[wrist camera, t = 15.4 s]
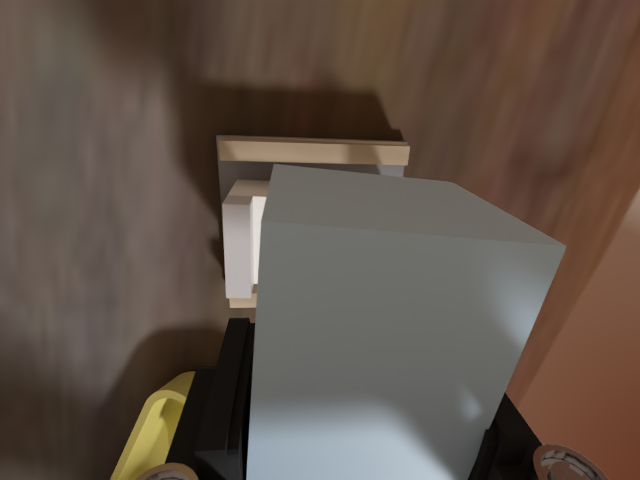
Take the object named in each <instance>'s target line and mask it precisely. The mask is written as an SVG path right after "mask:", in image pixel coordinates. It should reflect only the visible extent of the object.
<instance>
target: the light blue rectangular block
mask: <svg viewBox="0 0 640 480" xmlns="http://www.w3.org/2000/svg"><path fill="white" fill-rule="evenodd" d="M566 247H567V246H565V245H564V244H562V243H560V242H558V241H556V240H555V239H553V238H551V237H549V236H547V235H546V234H544V233H542V232H540V231H538V230H537V229H535V228H533V227H531V226H529V225H528V224H526V223H524V222H522V221H520V220H519V219H517V218H515V217H513V216H512V215H510V214H508V213H506V212H504V211H503V210H501V209H499V208H497V207H495V206H494V205H492V204H490V203H488V202H486V201H485V200H483V199H481V198H479V197H477V196H476V195H474V194H472V193H470V192H468V191H467V190H465V189H463V188H461V187H460V186H458V185H456V184H454V183H452V182H445V181H435V180H425V179H416V178H406V177H396V176H387V175H377V174H367V173H358V172H348V171H339V170H329V169H319V168H310V167H300V166H290V165H281V164H274V165H273V170H272V174H271V179H270V183H269V188H268V192H267V197H266V201H265V206H264V210H263V215H262V219H261V233H260V250H259V268H258V285H257V302H256V320H255V337H254V354H253V372H252V389H251V406H250V424H249V441H248V458H247V476H246V480H468V477H469V475H470V473H471V470H472V468H473V466H474V463H475V461H476V458H477V455H478V452H479V449H480V446H481V443H482V440H483V436H484V433H485V430H486V429H489V428H490V426H491V423H492V421H493V419H494V416H495V414H496V412H497V409H498V407H499V404H500V402H501V400H502V397H503V395H504V393H505V390H506V388H507V386H508V383H509V381H510V379H511V376H512V374H513V372H514V369H515V367H516V365H517V362H518V360H519V358H520V355H521V353H522V350H523V348H524V346H525V343H526V341H527V339H528V336H529V334H530V332H531V329H532V327H533V325H534V322H535V320H536V318H537V315H538V313H539V311H540V308H541V306H542V303H543V301H544V299H545V296H546V294H547V292H548V289H549V287H550V285H551V282H552V280H553V278H554V275H555V273H556V271H557V268H558V266H559V264H560V261H561V259H562V257H563V254H564V252H565V249H566Z"/></svg>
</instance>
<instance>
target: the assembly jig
mask: <svg viewBox="0 0 640 480" xmlns="http://www.w3.org/2000/svg"><path fill="white" fill-rule="evenodd" d="M216 141H217V155H218V169H219V183H220V197H221V211H222V203H223V202H224V200H225V199H226V197H227V195H228V194H229V192H230V190H231V189H232V187H233V185H234V184H235V182H236V181H237V179H238V180H260V181H270V179H271V174H272V170H273V165H274V164H281V165H290V166H300V167H310V168H319V169H329V170H339V171H348V172H358V173H367V174H377V175H387V176H396V177H403V172H404V165H408V158H409V150H410V146H408V145H407V142H406V141H395V140H364V139H333V138H302V137H271V136H240V135H217V136H216ZM222 225H223V213H222ZM223 239H224V236H223ZM257 285H258V284H254V285H253V290H252V296H251V298H230V308H246V307H256V302H257Z"/></svg>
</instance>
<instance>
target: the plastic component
mask: <svg viewBox="0 0 640 480" xmlns="http://www.w3.org/2000/svg"><path fill="white" fill-rule="evenodd" d="M194 374H195V371H190V372H185V373H182V374H180V375H178V376H177V377H175V378H174V379H173V380H171V381H170V382H169V383H167V384H166V385H164V386H163V387H162V388H160V389H159V390H158V391H156V392H155V393H153V394H152V395H151V396H150V397H149V398H148V399H147V400H146V402H145V404H144V406H143V409H142V411H141V413H140V415H139V417H138V420H137V422H136V424H135V426H134V428H133V431H132V433H131V435H130V437H129V439H128V441H127V444H126V446H125V448H124V450H123V452H122V455H121V457H120V459H119V461H118V463H117V466H116V468H115V470H114V472H113V474H112V477H111V479H110V480H135V479H136V478H137V477H138V476H140V475H141V474H143V473H144V472H146V471H147V470H149V469H151V468H153V467H156V466H158V465H161V464H164V463H165V460H166V457H167V454H168V451H169V449H170V446H171V443H172V440H173V437H174V434H175V431H176V428H177V425H178V422H179V419H180V416H181V413H182V410H183V407H184V404H185V401H186V398H187V395H188V392H189V389H190V386H191V383H192V380H193V377H194Z"/></svg>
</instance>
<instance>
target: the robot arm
mask: <svg viewBox="0 0 640 480" xmlns="http://www.w3.org/2000/svg"><path fill="white" fill-rule="evenodd" d="M254 337H255V323H250V319H249V318H230V319H229V321H228V325H227V329H226V333H225V337H224V340H223V344H222V348H221V352H220V355H219V359H218V363H217V366H215V367H198V368H197V369H196V372H195V374H194V377H193V380H192V383H191V386H190V389H189V392H188V395H187V398H186V401H185V404H184V407H183V410H182V413H181V416H180V419H179V422H178V425H177V428H176V431H175V434H174V437H173V440H172V443H171V446H170V449H169V451H168V454H167V457H166V460H165V463H164V464H161V465H158V466H156V467H153V468H151V469H149V470H147V471H146V472H144V473H143V474H141V475H140V476H138V477H137V478H136V479H135V480H246V476H247V458H248V441H249V424H250V406H251V389H252V372H253V354H254ZM468 480H608V478H607V477H606V475H605V474H604V473H603V472H602V471H601V470H600V469H599V468H598V467H597V466H596V465H595V464H594V463H593V462H592V461H590V460H589V459H588V458H586V457H585V456H583V455H582V454H580V453H578V452H576V451H574V450H572V449H570V448H567V447H564V446H561V445H557V444H545V445H542V444H541V442H540V441H539V440H538V438H537V437H536V435H535V434H534V433H533V431H532V430H531V428H530V427H529V426H528V424H527V423H526V422H525V420H524V419H523V417H522V416H521V414H520V413H519V412H518V410H517V409H516V407H515V406H514V405H513V403H512V402H511V400H510V399H509V398H508V396H507V395H506V393H504V395H503V397H502V400H501V402H500V404H499V407H498V409H497V412H496V414H495V416H494V419H493V421H492V423H491V426H490V428H489V429H486V430H485V433H484V436H483V440H482V443H481V446H480V449H479V452H478V455H477V458H476V461H475V463H474V466H473V468H472V470H471V473H470V475H469V477H468Z"/></svg>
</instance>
